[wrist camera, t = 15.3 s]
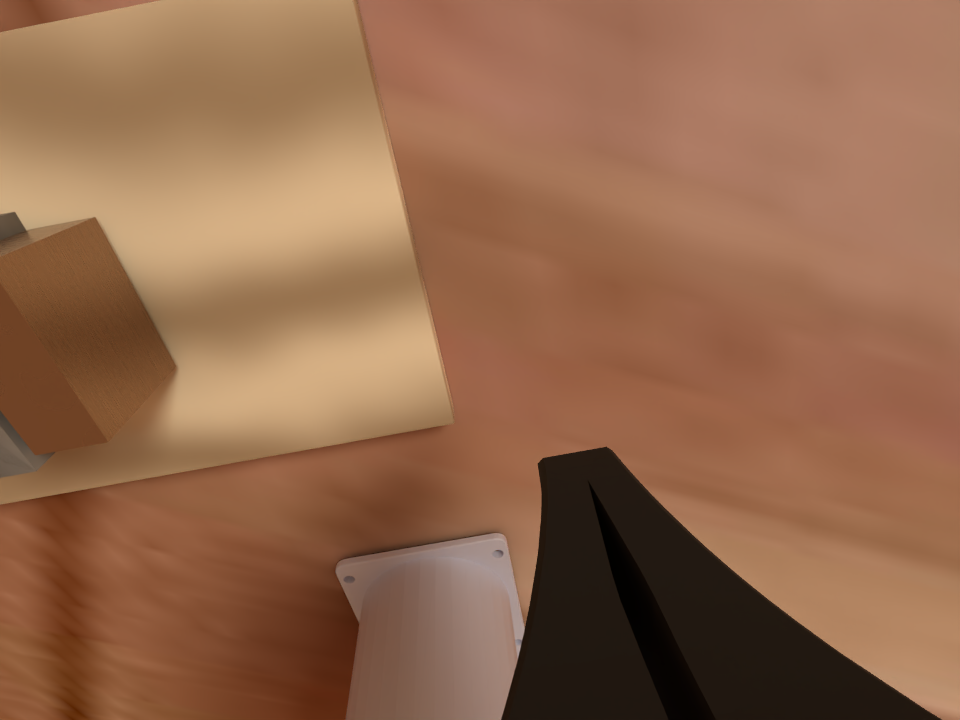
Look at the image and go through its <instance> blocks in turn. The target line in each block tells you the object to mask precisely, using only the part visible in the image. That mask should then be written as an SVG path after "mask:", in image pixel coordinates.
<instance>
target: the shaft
mask: <svg viewBox="0 0 960 720" xmlns="http://www.w3.org/2000/svg"><path fill="white" fill-rule="evenodd" d="M175 367H176V365H175V363H174V361H173V359H172V357H171V356H170V354H169V352H168V350H167V348H166V346H165V344H164V343H163V341H162V339H161V337H160V335H159V333H158V332H157V330H156V328H155V326H154V324H153V322H152V320H151V319H150V317H149V315H148V313H147V311H146V309H145V308H144V306H143V304H142V302H141V300H140V298H139V296H138V295H137V293H136V291H135V289H134V287H133V285H132V284H131V282H130V280H129V278H128V276H127V274H126V272H125V271H124V269H123V267H122V265H121V263H120V261H119V260H118V258H117V256H116V254H115V252H114V250H113V248H112V247H111V245H110V243H109V241H108V239H107V237H106V236H105V234H104V232H103V230H102V228H101V226H100V224H99V223H98V221H97V219H96V217H92V218H87V219H82V220H76V221H71V222H66V223H61V224H55V225H50V226H45V227H40V228H34V229H29V230H26V231H23V232H20V233H18V234H15V235H13V236H10V237H7V238H5V239H2V240H0V411H1V412H2V414H3V415H4V416H5V417H6V419H7V420H8V421H9V422H10V424H11V425H12V426H13V428H14V429H15V430H16V431H17V433H18V434H19V435H20V437H21V438H22V439H23V440H24V442H25V443H26V444H27V445H28V447H29V448H30V449H31V451H32V452H33V453H34V454H35V455H41V454H46V453H52V452H57V451H63V450H68V449H74V448H79V447H85V446H90V445H96V444H102V443H107V442H109V441H110V440H111V439H112V438H113V437H114V436H115V434H116V433H117V432H118V431H119V430H120V429H121V428H122V427H123V425H124V424H125V423H126V422H127V421H128V420H129V419H130V418H131V417H132V415H133V414H134V413H135V412H136V411H137V410H138V409H139V408H140V406H141V405H142V404H143V403H144V402H145V401H146V400H147V399H148V398H149V396H150V395H151V394H152V393H153V392H154V391H155V390H156V389H157V387H158V386H159V385H160V384H161V383H162V382H163V381H164V380H165V379H166V377H167V376H168V375H169V374H170V373H171V372H172V371H173V370H174V369H175Z"/></svg>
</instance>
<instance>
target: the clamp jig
mask: <svg viewBox="0 0 960 720" xmlns="http://www.w3.org/2000/svg"><path fill="white" fill-rule="evenodd" d="M92 217H96V219H97V221H98V223H99V224H100V226H101V228H102V230H103V232H104V234H105V236H106V237H107V239H108V241H109V243H110V245H111V247H112V248H113V250H114V252H115V254H116V256H117V258H118V260H119V261H120V263H121V265H122V267H123V269H124V271H125V272H126V274H127V276H128V278H129V280H130V282H131V284H132V285H133V287H134V289H135V291H136V293H137V295H138V296H139V298H140V300H141V302H142V304H143V306H144V308H145V309H146V311H147V313H148V315H149V317H150V319H151V320H152V322H153V324H154V326H155V328H156V330H157V332H158V333H159V335H160V337H161V339H162V341H163V343H164V344H165V346H166V348H167V350H168V352H169V354H170V356H171V357H172V359H173V361H174V363H175V365H176V367H175V369H174V370H173V371H172V372H171V373H170V374H169V375H168V376H167V377H166V379H165V380H164V381H163V382H162V383H161V384H160V385H159V386H158V387H157V389H156V390H155V391H154V392H153V393H152V394H151V395H150V396H149V398H148V399H147V400H146V401H145V402H144V403H143V404H142V405H141V406H140V408H139V409H138V410H137V411H136V412H135V413H134V414H133V415H132V417H131V418H130V419H129V420H128V421H127V422H126V423H125V424H124V425H123V427H122V428H121V429H120V430H119V431H118V432H117V433H116V434H115V436H114V437H113V438H112V439H111V440H110V441H109V442H107V443H102V444H96V445H90V446H85V447H79V448H74V449H68V450H63V451H57V452H52V453H46V454H41V455H35V454H34V453H33V452H32V451H31V449H30V448H29V447H28V445H27V444H26V443H25V442H24V440H23V439H22V438H21V437H20V435H19V434H18V433H17V431H16V430H15V429H14V428H13V426H12V425H11V424H10V422H9V421H8V420H7V419H6V417H5V416H4V415H3V414H2V412H1V411H0V505H1V504H6V503H12V502H17V501H23V500H29V499H34V498H40V497H45V496H51V495H57V494H62V493H68V492H73V491H79V490H85V489H90V488H96V487H101V486H107V485H113V484H118V483H124V482H129V481H135V480H141V479H146V478H152V477H157V476H163V475H169V474H174V473H180V472H185V471H191V470H197V469H202V468H208V467H213V466H219V465H225V464H230V463H236V462H241V461H247V460H253V459H258V458H264V457H269V456H275V455H281V454H286V453H292V452H297V451H303V450H308V449H314V448H320V447H325V446H331V445H336V444H342V443H348V442H353V441H359V440H364V439H370V438H376V437H381V436H387V435H392V434H398V433H404V432H409V431H415V430H420V429H426V428H432V427H437V426H443V425H448V424H454V407H453V403H452V399H451V394H450V390H449V386H448V382H447V377H446V373H445V369H444V365H443V361H442V356H441V352H440V348H439V344H438V339H437V335H436V331H435V327H434V323H433V318H432V314H431V310H430V306H429V301H428V297H427V293H426V289H425V284H424V280H423V276H422V272H421V268H420V263H419V259H418V255H417V251H416V246H415V242H414V238H413V234H412V230H411V225H410V221H409V217H408V213H407V208H406V204H405V200H404V196H403V192H402V187H401V183H400V179H399V175H398V170H397V166H396V162H395V158H394V154H393V149H392V145H391V141H390V137H389V132H388V128H387V124H386V120H385V116H384V111H383V107H382V103H381V99H380V94H379V90H378V86H377V82H376V78H375V73H374V69H373V65H372V61H371V56H370V52H369V48H368V44H367V40H366V35H365V31H364V27H363V23H362V18H361V14H360V10H359V6H358V2H357V0H160V1H155V2H150V3H145V4H140V5H135V6H130V7H125V8H120V9H115V10H110V11H105V12H100V13H95V14H90V15H85V16H80V17H75V18H70V19H65V20H60V21H55V22H50V23H45V24H40V25H35V26H30V27H25V28H20V29H15V30H10V31H5V32H0V240H2V239H5V238H7V237H10V236H13V235H15V234H18V233H20V232H23V231H26V230H29V229H34V228H40V227H45V226H50V225H55V224H61V223H66V222H71V221H76V220H82V219H87V218H92Z"/></svg>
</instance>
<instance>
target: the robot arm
mask: <svg viewBox="0 0 960 720" xmlns="http://www.w3.org/2000/svg"><path fill="white" fill-rule="evenodd" d="M538 469H539V476H540V483H541V490H542V508H541V526H540V537H539V549H538V557H537V564H536V570H535V576H534V583H533V589H532V595H531V601H530V606H529V611H528V616H527V621H526V626H525V627H524V622H523V617H522V612H521V608H520V603H519V598H518V593H517V588H516V583H515V579H514V574H513V569H512V564H511V559H510V554H509V549H508V545H507V540H506V537H505V536H504V535H503V534H500V533H492V534H486V535H480V536H474V537H469V538H463V539H457V540H451V541H445V542H440V543H434V544H428V545H422V546H417V547H411V548H405V549H399V550H394V551H388V552H382V553H376V554H371V555H365V556H359V557H353V558H348V559H343V560H340V561H339V562H338V563H337V565H336V569H335V573H336V575H337V578H338V580H339V582H340V584H341V586H342V588H343V590H344V592H345V595H346V597H347V599H348V601H349V603H350V605H351V607H352V609H353V611H354V614H355V616H356V618H357V620H358V622H359V630H358V637H357V644H356V651H355V658H354V665H353V672H352V679H351V686H350V692H349V699H348V706H347V713H346V720H942V719H940V718H938V717H937V716H935V715H933V714H932V713H930V712H929V711H927V710H925V709H924V708H922V707H921V706H919V705H918V704H916V703H915V702H913V701H912V700H910V699H909V698H907V697H906V696H904V695H903V694H901V693H900V692H898V691H897V690H895V689H894V688H892V687H891V686H889V685H888V684H886V683H885V682H883V681H882V680H880V679H879V678H877V677H876V676H874V675H873V674H871V673H870V672H868V671H867V670H865V669H864V668H862V667H861V666H859V665H858V664H856V663H855V662H853V661H852V660H850V659H849V658H847V657H846V656H844V655H843V654H841V653H840V652H838V651H837V650H835V649H834V648H833V647H831V646H830V645H828V644H827V643H826V642H824V641H823V640H822V639H820V638H819V637H817V636H816V635H815V634H813V633H812V632H811V631H809V630H808V629H806V628H805V627H804V626H802V625H801V624H800V623H798V622H797V621H795V620H794V619H793V618H792V617H790V616H789V615H788V614H786V613H785V612H784V611H782V610H781V609H780V608H779V607H777V606H776V605H775V604H773V603H772V602H771V601H769V600H768V599H767V598H766V597H764V596H763V595H762V594H761V593H759V592H758V591H757V590H756V589H754V588H753V587H752V586H751V585H749V584H748V583H747V582H746V581H745V580H743V579H742V578H741V577H740V576H739V575H737V574H736V573H735V572H734V571H733V570H731V569H730V568H729V567H728V566H727V565H726V564H725V563H723V562H722V561H721V560H720V559H719V558H718V557H717V556H715V555H714V554H713V553H712V552H711V551H710V550H708V549H707V548H706V547H705V546H704V545H703V544H702V543H701V542H700V541H699V540H698V539H696V538H695V537H694V536H693V535H692V534H691V533H690V532H689V531H688V530H687V529H686V528H685V527H684V526H683V525H682V524H681V523H680V522H679V521H678V520H676V519H675V518H674V517H673V516H672V515H671V514H670V513H669V512H668V511H667V510H666V509H665V508H664V507H663V506H662V505H661V504H660V503H659V502H658V501H657V500H656V499H655V498H654V497H653V496H652V495H651V494H650V492H649V491H648V490H647V489H646V488H645V487H644V486H643V485H642V484H641V483H640V482H639V481H638V480H637V479H636V477H635V476H634V475H633V474H632V473H631V472H630V471H629V470H628V469H627V467H626V466H625V465H624V464H623V463H622V462H621V460H620V459H619V458H618V457H617V456H616V454H615V453H614V452H613V451H612V450H611V449H609V448H608V447H603V448H597V449H592V450H586V451H580V452H575V453H569V454H563V455H558V456H552V457H546V458H543V459H542V460H541V461H540V462H539V463H538ZM496 550H499V551H496Z"/></svg>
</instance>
